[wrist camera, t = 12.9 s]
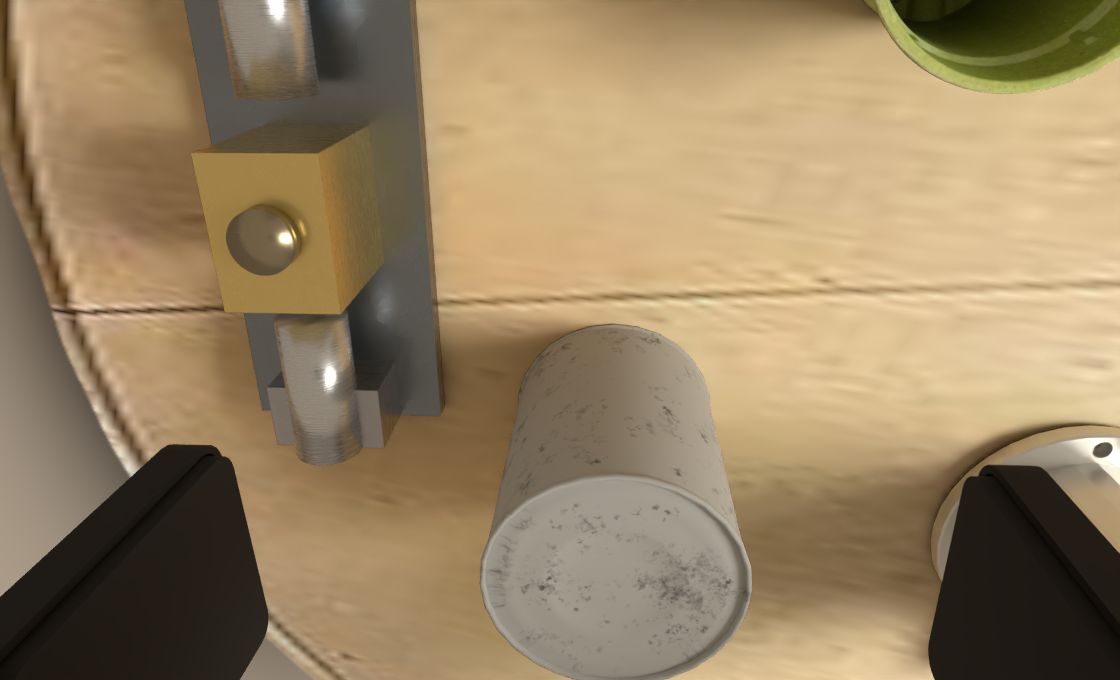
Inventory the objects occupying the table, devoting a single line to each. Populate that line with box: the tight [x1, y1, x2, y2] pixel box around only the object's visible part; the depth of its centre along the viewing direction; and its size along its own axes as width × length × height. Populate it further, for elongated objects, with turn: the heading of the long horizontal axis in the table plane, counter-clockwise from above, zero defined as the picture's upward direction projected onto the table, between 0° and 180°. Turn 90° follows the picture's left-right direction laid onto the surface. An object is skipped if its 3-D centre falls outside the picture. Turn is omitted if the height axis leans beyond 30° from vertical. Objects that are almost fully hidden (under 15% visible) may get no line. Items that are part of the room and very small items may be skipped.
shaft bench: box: [184, 0, 445, 465], centre depth 31 cm, size 22×9×6 cm, turn 0°
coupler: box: [191, 125, 384, 314], centre depth 30 cm, size 6×4×7 cm
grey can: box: [480, 324, 752, 680], centre depth 32 cm, size 10×10×12 cm
